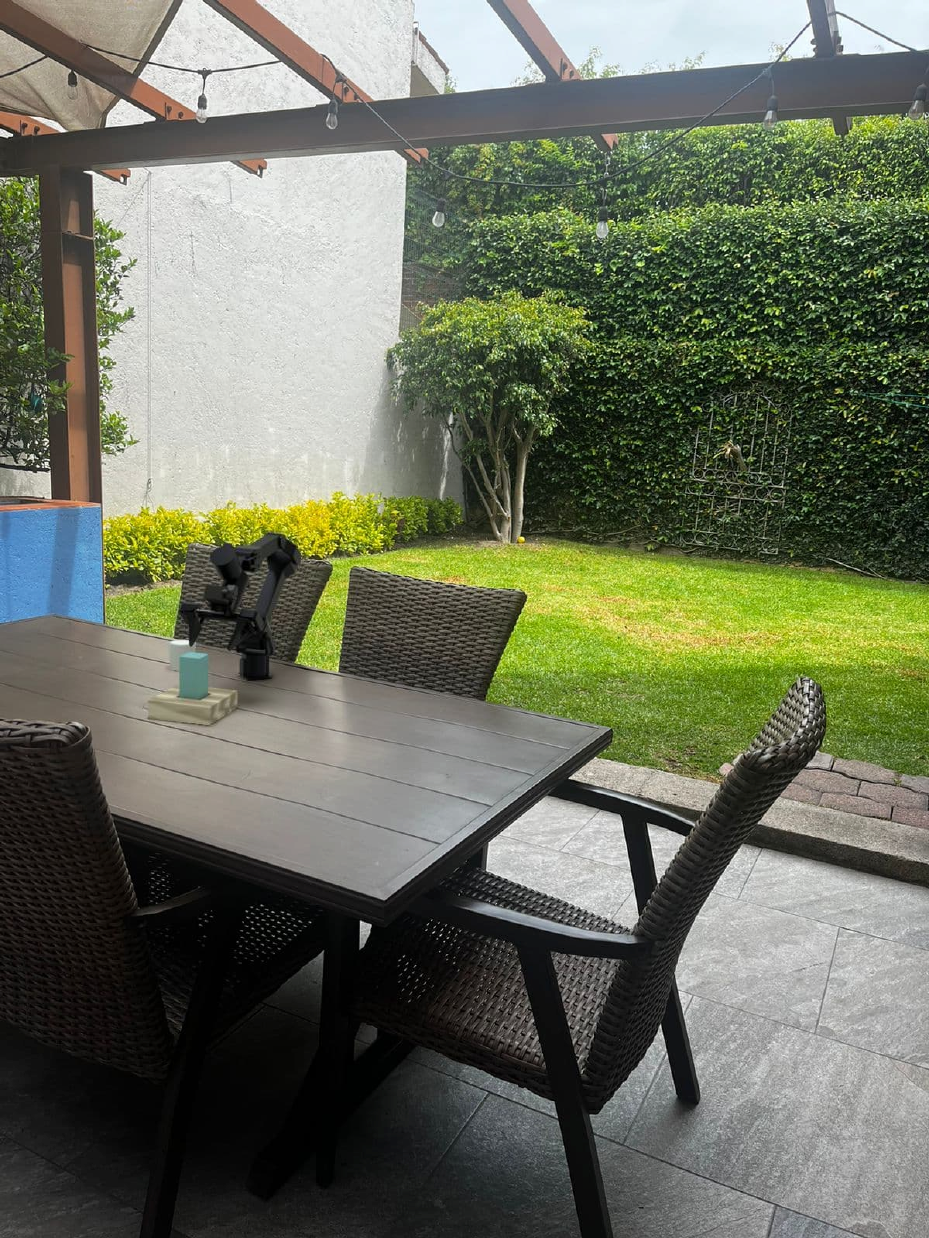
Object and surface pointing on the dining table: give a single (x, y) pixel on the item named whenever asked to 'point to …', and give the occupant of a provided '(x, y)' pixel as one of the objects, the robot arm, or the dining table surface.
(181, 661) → the peg
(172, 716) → the pocket block
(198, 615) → the robot arm
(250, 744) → the dining table surface
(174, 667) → the white short cylinder
